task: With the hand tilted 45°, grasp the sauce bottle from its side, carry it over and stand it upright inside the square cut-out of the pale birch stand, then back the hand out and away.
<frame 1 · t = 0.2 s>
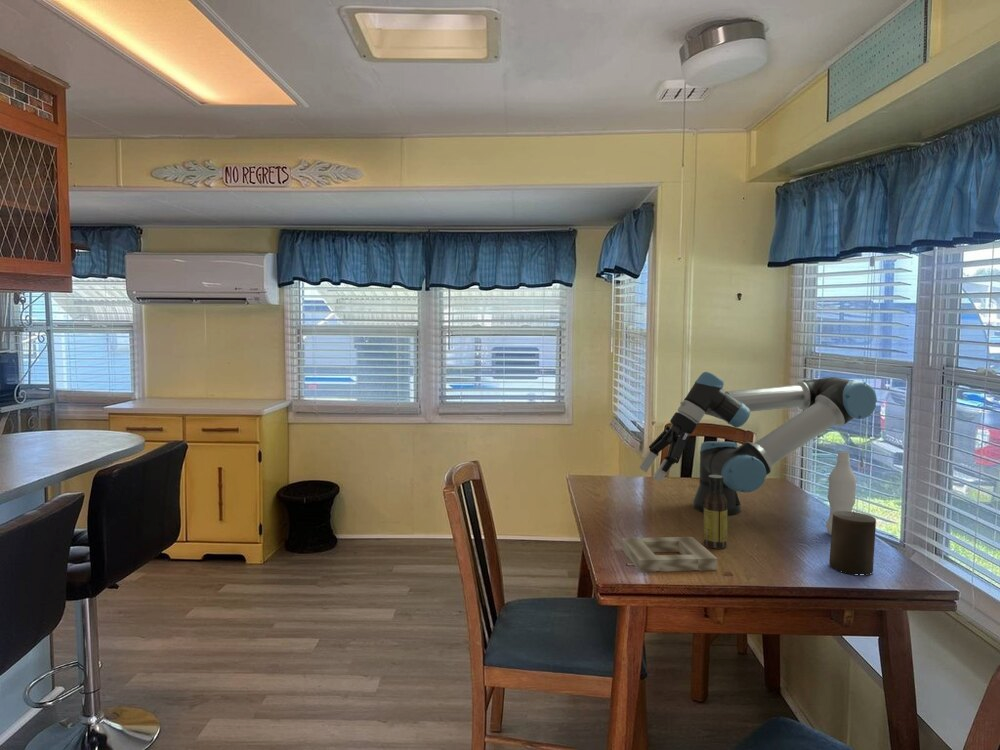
hand: (649, 474, 188), 15 cm above the table, tool tilted 35°, fingers open, 13 cm apart
pillar candle: (851, 569, 155), on the table
water bottle: (839, 536, 180), on the table
sauce bottle: (714, 546, 171), on the table
birch stand: (667, 558, 160), on the table
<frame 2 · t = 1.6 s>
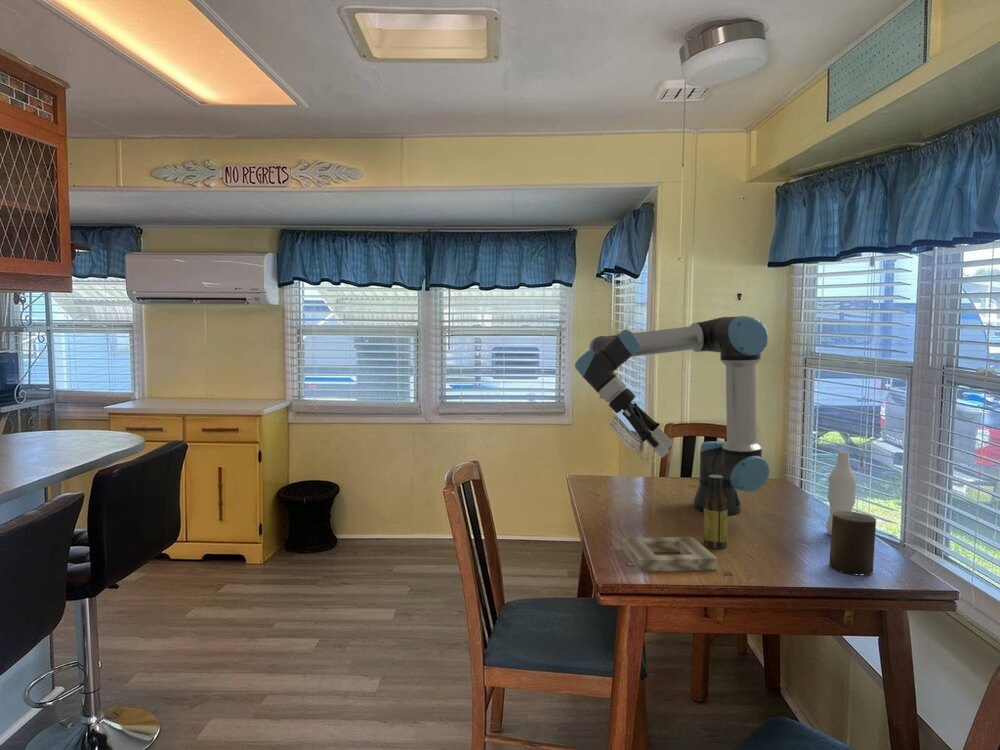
hand: (668, 450, 174), 26 cm above the table, tool tilted 45°, fingers open, 13 cm apart
nothing on the table moved.
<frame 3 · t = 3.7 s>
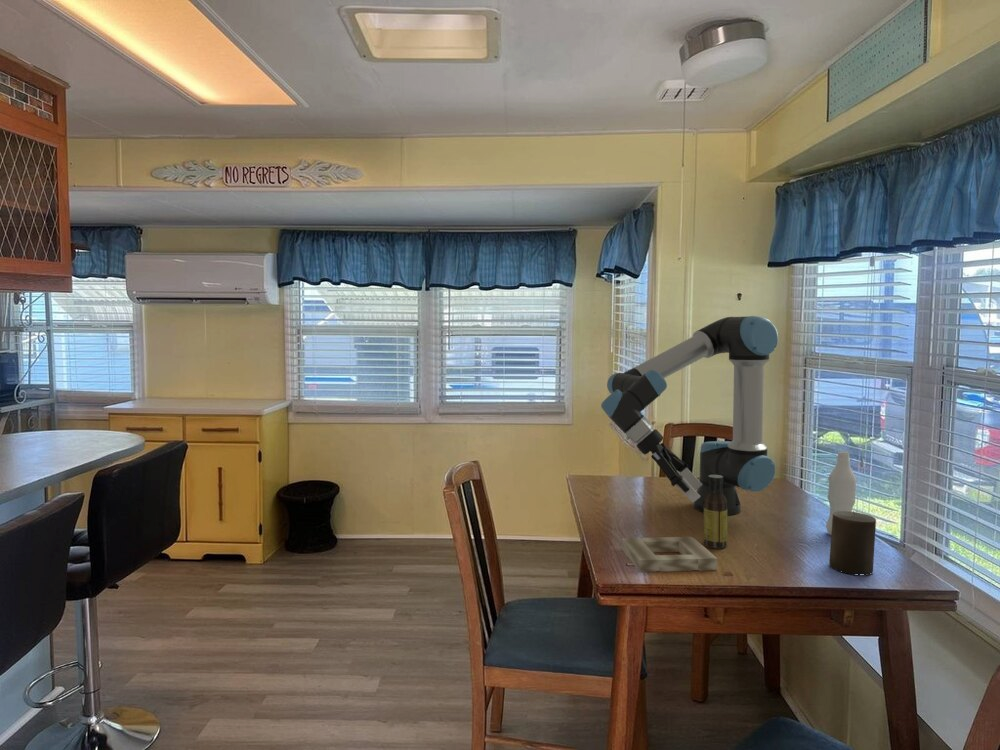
hand: (697, 493, 171), 15 cm above the table, tool tilted 45°, fingers open, 13 cm apart
nothing on the table moved.
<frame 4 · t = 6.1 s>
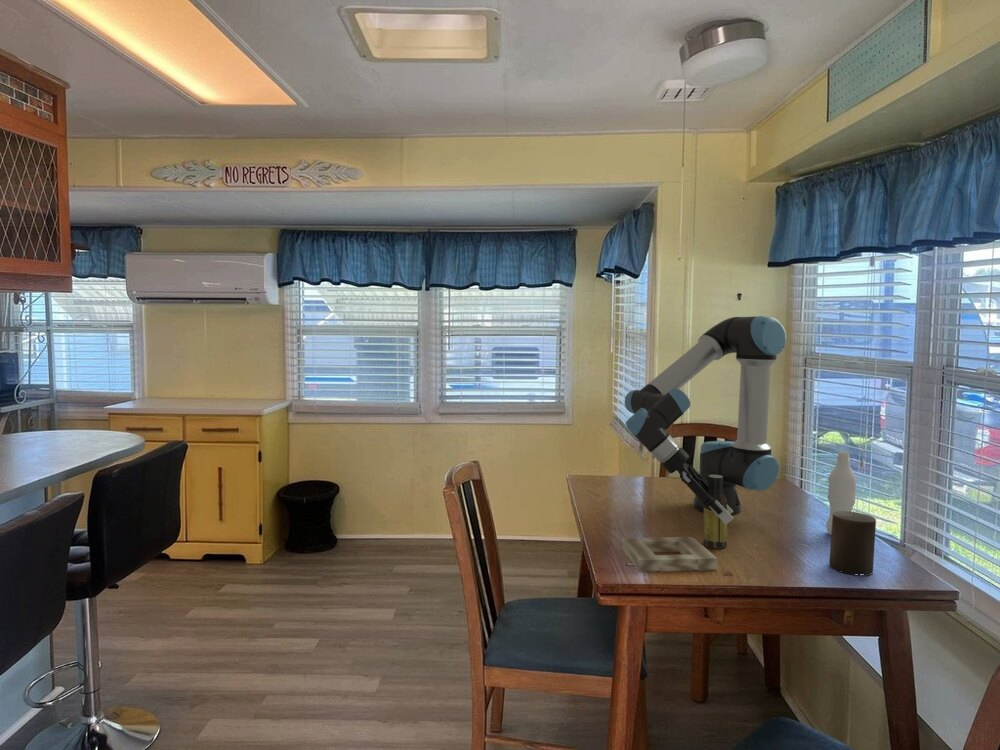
hand: (729, 517, 169), 8 cm above the table, tool tilted 45°, fingers closed on sauce bottle, 6 cm apart
sauce bottle: (714, 546, 171), on the table, touching gripper
everything else where it was.
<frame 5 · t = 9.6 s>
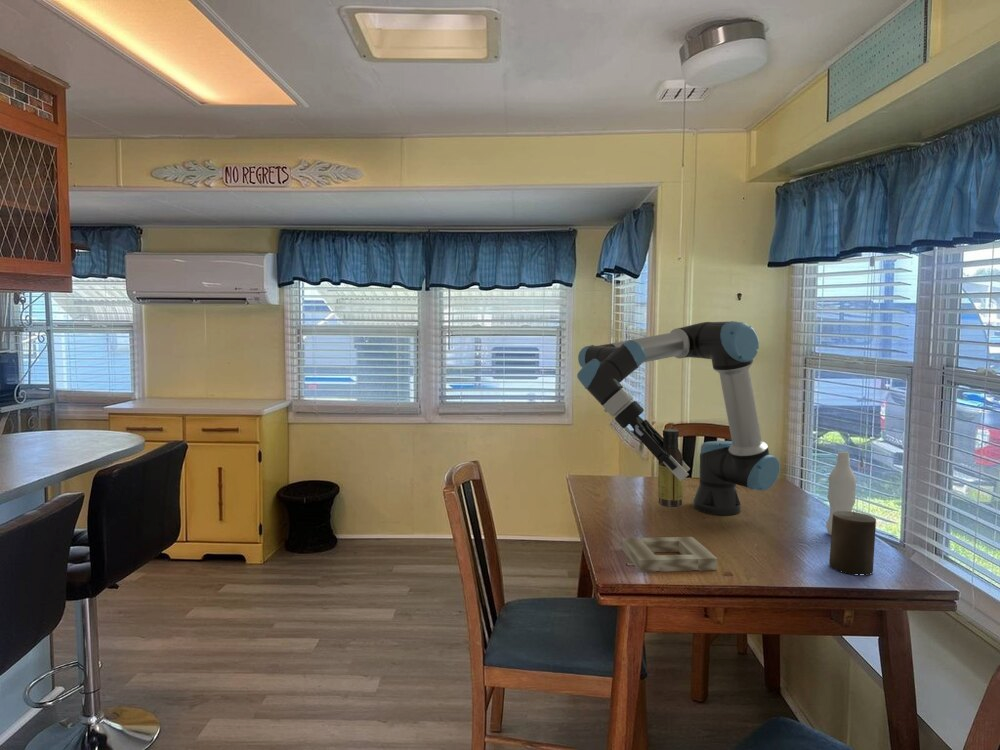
hand: (685, 474, 158), 23 cm above the table, tool tilted 45°, fingers closed on sauce bottle, 6 cm apart
sauce bottle: (669, 505, 160), point 14 cm above the table, touching gripper
everything else where it was.
when the fingers open (10 cm above the table, at t = 13.1 s): sauce bottle drops 1 cm, resting in birch stand.
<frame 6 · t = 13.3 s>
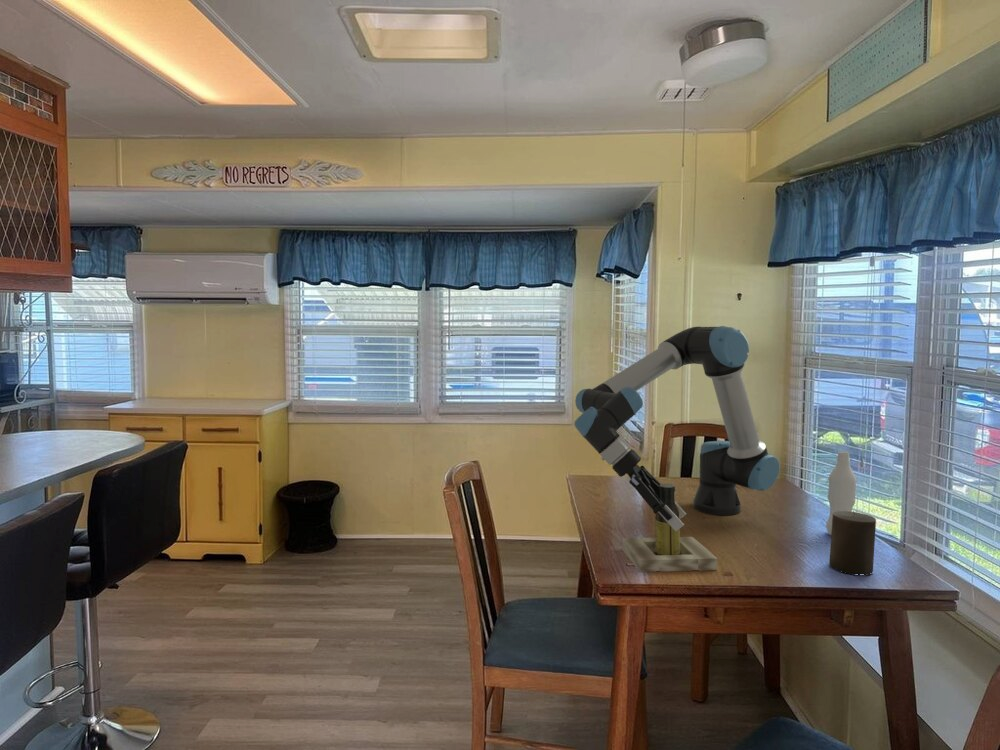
hand: (681, 522, 158), 10 cm above the table, tool tilted 45°, fingers open, 9 cm apart
sauce bottle: (667, 559, 160), resting in birch stand
everything else where it was.
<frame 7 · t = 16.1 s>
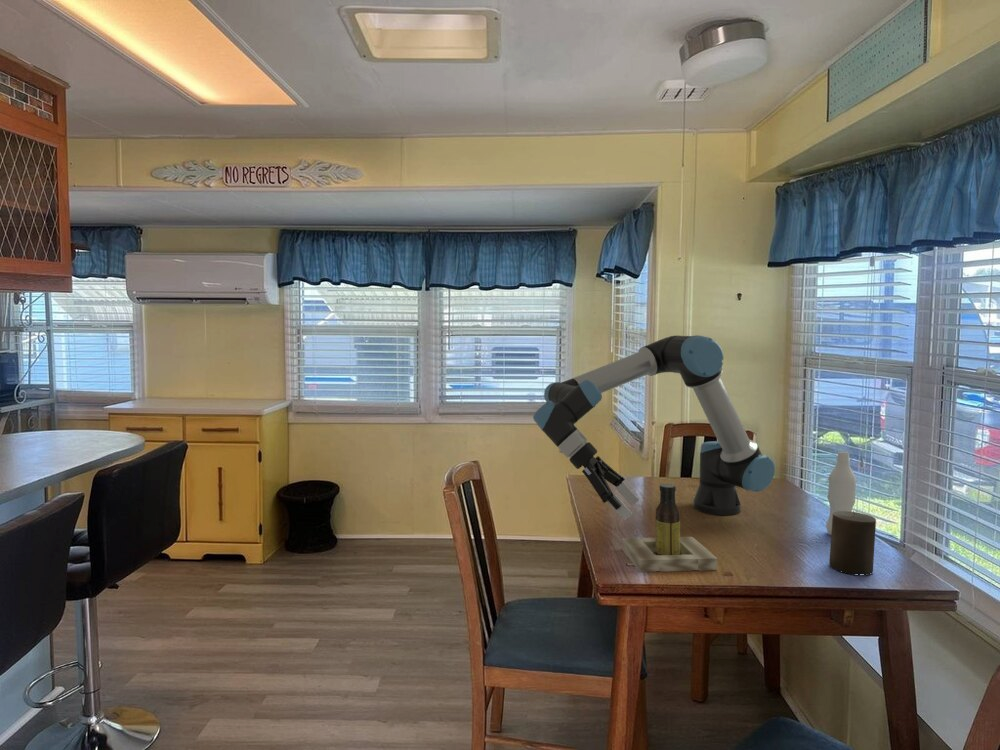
hand: (632, 509, 163), 12 cm above the table, tool tilted 45°, fingers open, 13 cm apart
nothing on the table moved.
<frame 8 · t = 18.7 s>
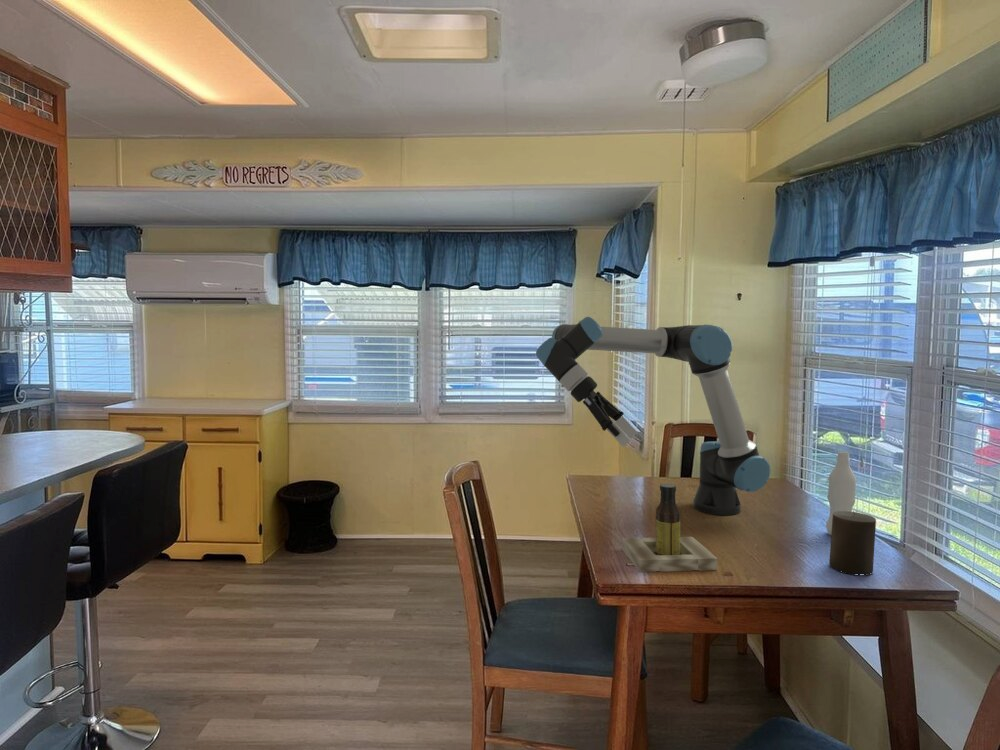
hand: (631, 439, 169), 30 cm above the table, tool tilted 45°, fingers open, 13 cm apart
nothing on the table moved.
at the end: sauce bottle 0.1 cm off-centre on the birch stand, point 0.0 cm above the birch stand's base; sauce bottle tilted 0°; the gripper is holding nothing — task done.
